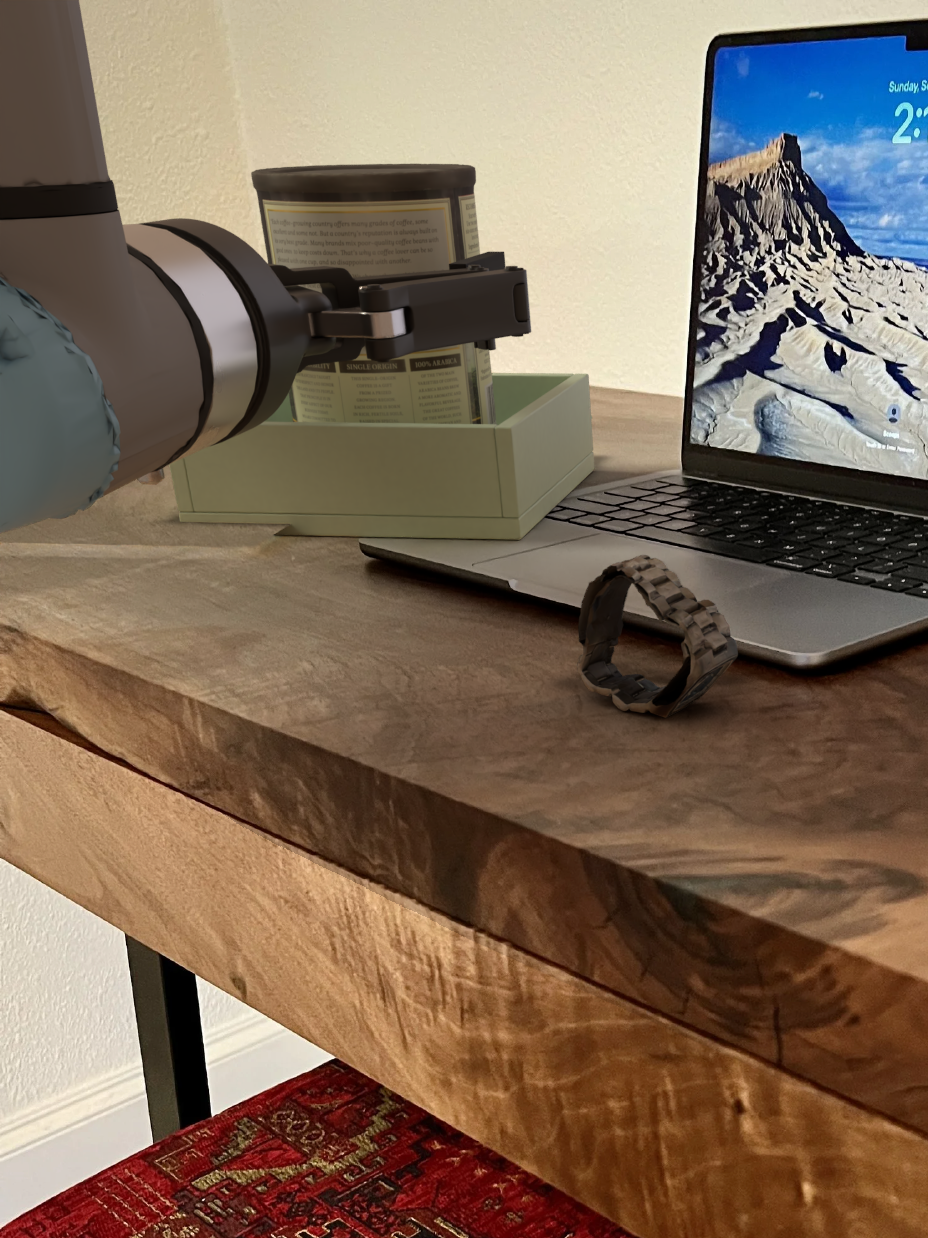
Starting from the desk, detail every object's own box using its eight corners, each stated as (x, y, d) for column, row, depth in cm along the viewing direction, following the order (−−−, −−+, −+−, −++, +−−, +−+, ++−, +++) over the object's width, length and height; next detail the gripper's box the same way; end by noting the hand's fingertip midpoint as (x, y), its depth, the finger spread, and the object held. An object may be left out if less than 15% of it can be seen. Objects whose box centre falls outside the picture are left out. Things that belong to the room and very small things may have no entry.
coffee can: (272, 474, 84) (223, 167, 76) (457, 452, 88) (426, 161, 81) (338, 509, 76) (290, 173, 69) (536, 484, 81) (510, 167, 74)
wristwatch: (628, 756, 54) (711, 663, 51) (543, 634, 54) (620, 534, 51) (684, 740, 56) (767, 649, 53) (602, 623, 57) (680, 526, 53)
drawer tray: (181, 533, 76) (160, 423, 74) (307, 465, 91) (293, 370, 88) (521, 540, 75) (511, 427, 72) (595, 469, 89) (588, 373, 87)
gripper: (-135, 447, 60) (122, 367, 78) (512, 455, 58) (623, 370, 76) (-198, 224, 57) (87, 194, 75) (491, 223, 54) (613, 192, 72)
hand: (358, 283), depth 75 cm, fingers open, 13 cm apart
